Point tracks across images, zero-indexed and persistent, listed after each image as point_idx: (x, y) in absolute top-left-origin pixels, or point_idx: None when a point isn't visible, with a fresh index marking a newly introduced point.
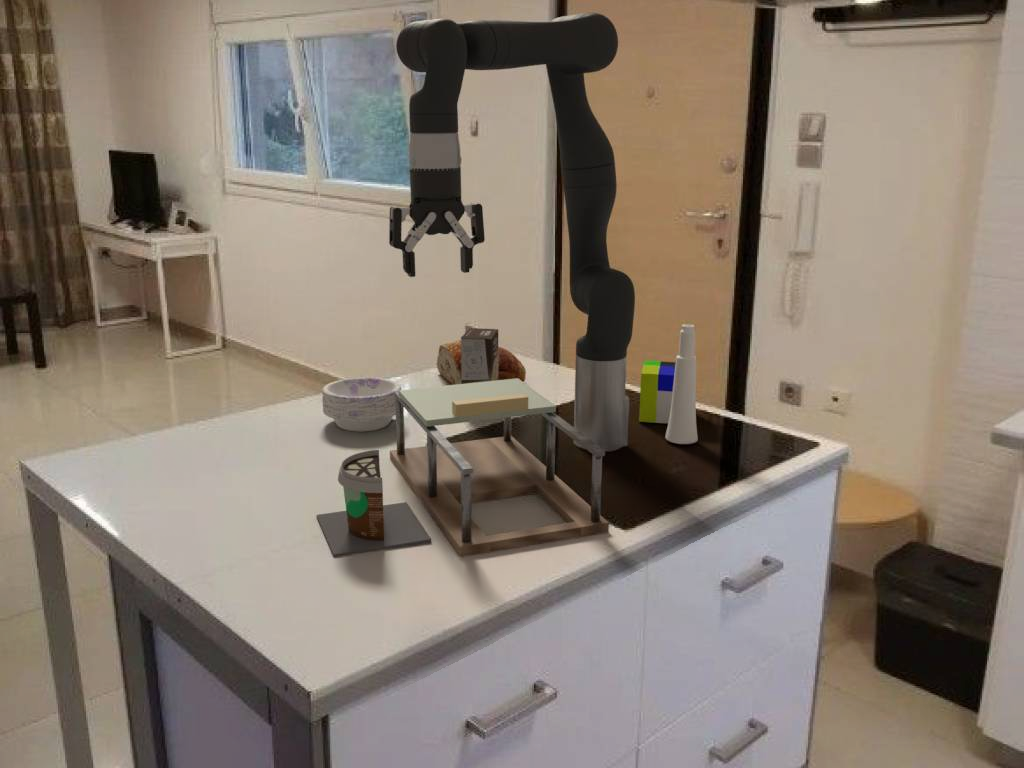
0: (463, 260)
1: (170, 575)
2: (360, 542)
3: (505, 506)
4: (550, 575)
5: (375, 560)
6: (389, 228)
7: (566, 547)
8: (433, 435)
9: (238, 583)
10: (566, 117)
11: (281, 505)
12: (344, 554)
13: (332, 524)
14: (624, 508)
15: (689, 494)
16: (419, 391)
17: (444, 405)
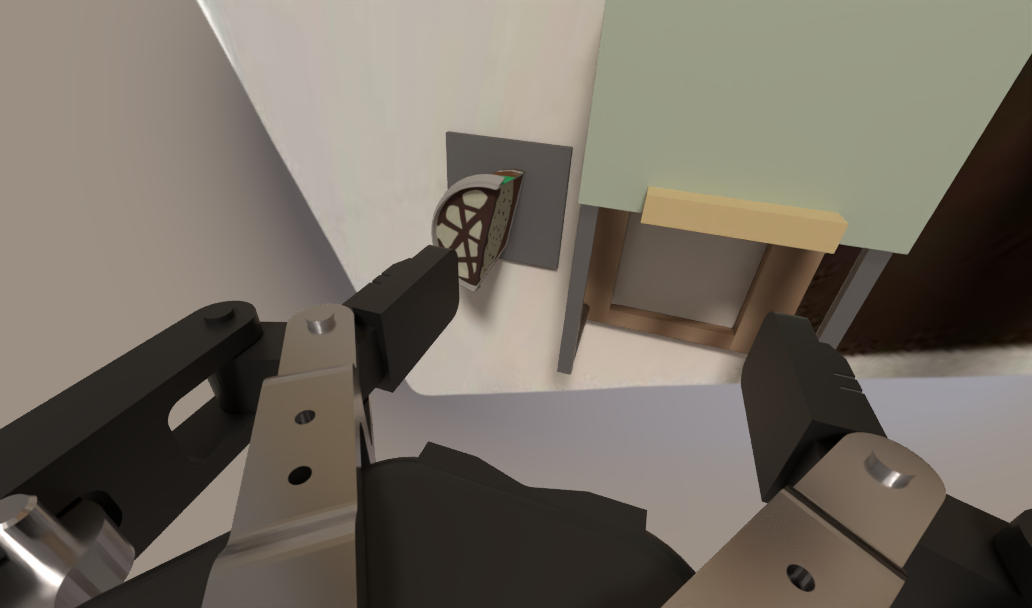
0: (761, 402)
1: (307, 201)
2: None
3: None
4: (635, 382)
5: (490, 271)
6: (78, 385)
7: (691, 351)
8: (577, 237)
9: (366, 248)
10: None
11: (408, 56)
12: None
13: (460, 173)
14: (859, 312)
15: (1016, 328)
16: None
17: (663, 120)
